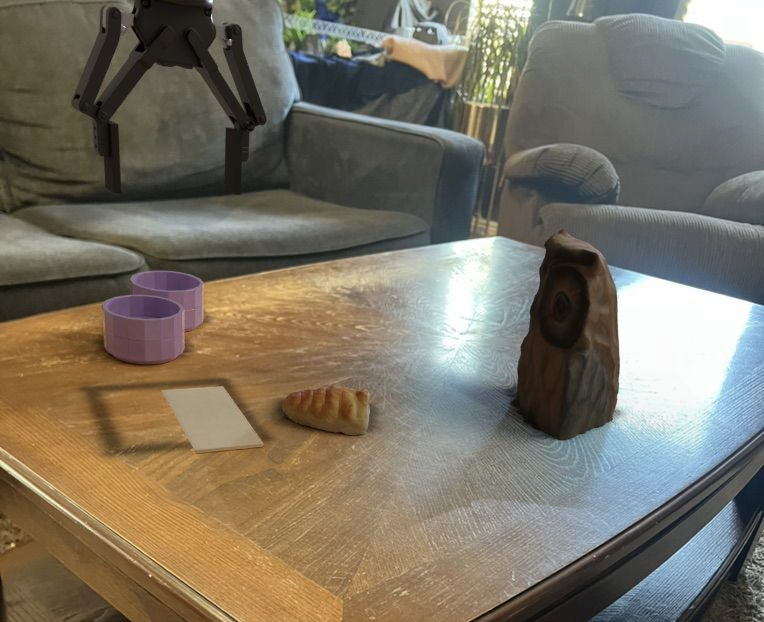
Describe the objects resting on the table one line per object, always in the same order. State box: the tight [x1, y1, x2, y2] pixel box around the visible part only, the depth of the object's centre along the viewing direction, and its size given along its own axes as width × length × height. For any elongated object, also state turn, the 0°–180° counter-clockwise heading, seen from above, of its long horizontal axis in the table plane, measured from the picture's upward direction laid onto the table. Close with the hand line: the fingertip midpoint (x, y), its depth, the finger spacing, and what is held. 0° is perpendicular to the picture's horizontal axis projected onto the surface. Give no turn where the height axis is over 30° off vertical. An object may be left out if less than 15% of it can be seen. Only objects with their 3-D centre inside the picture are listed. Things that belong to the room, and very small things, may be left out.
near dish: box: [101, 294, 186, 365], centre depth 91 cm, size 9×9×6 cm
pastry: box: [281, 384, 371, 436], centre depth 82 cm, size 9×7×4 cm
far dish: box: [129, 270, 205, 332], centre depth 101 cm, size 9×9×6 cm
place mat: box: [160, 385, 265, 454], centre depth 78 cm, size 14×14×1 cm
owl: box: [510, 228, 621, 441], centre depth 87 cm, size 13×13×20 cm
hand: (175, 191), depth 85 cm, fingers open, 13 cm apart
